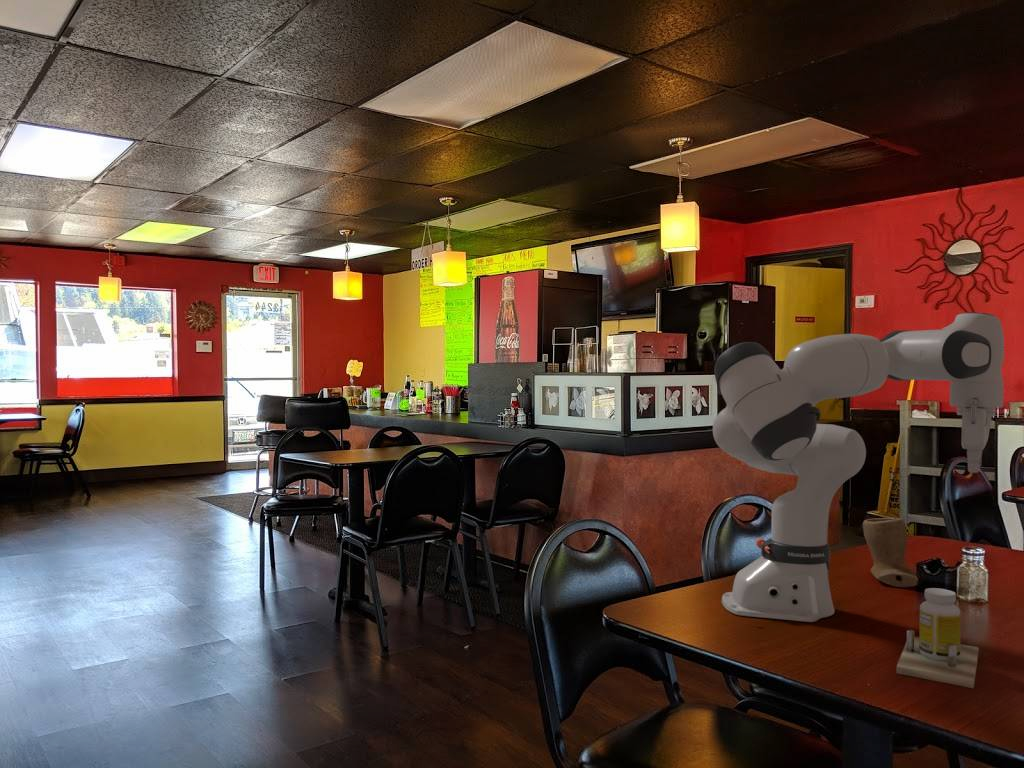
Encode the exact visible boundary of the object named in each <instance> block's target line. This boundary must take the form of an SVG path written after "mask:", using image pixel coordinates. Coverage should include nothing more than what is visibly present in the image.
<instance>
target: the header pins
mask: <svg viewBox="0 0 1024 768" xmlns="http://www.w3.org/2000/svg"><path fill="white" fill-rule="evenodd" d="M914 636H915V631H914V630H912V629H907V630H906V642H907V644H906V643H905V644H906V651H907V652H914ZM956 656H957V645H955V644H948V666H949V667H956Z"/></svg>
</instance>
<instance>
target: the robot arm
mask: <svg viewBox="0 0 1024 768" xmlns="http://www.w3.org/2000/svg"><path fill="white" fill-rule="evenodd" d="M1004 339H1005V338H1004V333H1003V327H1002V323H1001V319H1000V318H998V317H997V316H995V315H993V314H991V313H990V314H989V313H986V312H977V311H976V312H974V311H971V312H962V313H958V314H957V315H956V316H955V318H954V321H953V322H952V323H950V324H949V325H947V326H945V327H942V328H941V329H926V330H925V329H923V330H904V329H903V330H901V329H898V330H894V331H891V332H889V333H888V334H886V335H885V336H884V337H882V338H880V339H879V338H878V337H875V336H872V335H868V334H867V335H866V334H860V333H841V334H839V333H838V334H833V335H825V336H819V337H816V338H814V339H813V338H812V339H810V340H806V341H804V342H801V343H799V344H797V345H795V346H794V347H792V348H791V349H790V350H789V351H788V353H787V354H786V357H785V360H784V363H783V368H780V367H779V365H778V364H776V362H775V361H774V359H773V355H772V354H771V353H770V352H769V350H767V349H766V348H765V347H764V346H763V345H762V344H760V343H759V342H756V341H745V342H740V343H737V344H734V345H732V346H731V347H729V348H727V349H726V350H725V351H723V352H722V353H721V354H720V355H719V356H718V357H717V360H716V362H715V364H714V367H713V368H714V369H713V371H714V379H715V382H716V386H717V394H718V395H721V396H722V398H723V400H724V402H725V404H726V406H725V408H723V409H722V410H721V411H719V413H718V414H717V415H716V417H715V419H714V421H713V424H712V436H713V439H714V441H715V443H716V445H717V447H719V449H720V450H722V451H723V452H725V453H726V454H727V455H728V456H730V457H733V458H734V459H737V460H738V461H741V462H744V463H745V464H746V465H747V466H749V467H751V468H755V469H757V470H761V471H764V472H767V473H770V474H771V473H773V474H783V475H791V476H797V484H796V486H795V488H794V489H793V490H792V489H791V490H789V491H787V492H785V493H783V494H781V495H779V496H778V497H777V498H776V499H775V500H774V501H773V503H772V506H771V533H770V534H771V535H770V538H768V539H767V540H765V539H764V538H762V537H758V538H757V539H756V540H755V546H757V548H758V549H760V552H761V556H760V557H758V558H757V559H755V560H753V562H751V563H750V564H748V565H747V566H745V567H743V568H742V569H740V570H739V571H737V573H736V574H735V577H734V580H733V585H732V591H729V592H724V593H723V594H722V597H721V604H722V606H723V608H725V609H726V610H727V611H729V612H730V613H732V614H734V615H737V616H743V617H753V618H754V617H755V618H766V619H775V620H787V621H794V622H806V623H807V622H808V623H813V622H817V621H819V620H820V619H822V618H827V617H830V616H832V615H834V613H836V612H835V611H836V610H835V607H834V604H833V600H832V595H831V589H830V581H829V572H828V571H829V570H830V563H831V551H830V550H831V549H830V543H829V542H828V529H829V517H830V515H829V514H830V510H831V509H830V508H831V505H832V504H831V503H832V501H833V499H834V497H835V495H836V493H837V492H838V490H840V487H841V486H842V485H843V484H844V483H845V482H847V481H848V480H849V479H850V478H852V477H854V476H855V475H857V474H858V473H859V472H860V470H861V469H862V468H863V466H864V464H865V461H866V457H867V449H866V445H865V442H864V439H863V437H862V436H861V435H860V433H859V432H858V431H856V430H855V429H852V428H848V427H845V426H842V425H841V426H840V425H838V424H833V423H831V424H829V423H818V421H819V420H820V419H821V409H820V408H819V407H817V406H816V407H815V405H816V404H818V403H819V402H822V401H824V400H829V399H842V398H852V397H859V396H862V395H865V394H868V393H871V392H873V391H876V390H878V389H880V388H881V387H882V386H883V385H884V384H885V382H886V380H887V378H888V379H890V380H892V381H896V382H900V381H901V382H903V381H949V406H950V407H955V408H956V410H957V411H956V415H957V416H962V417H961V447H962V449H964V450H966V457H967V471H968V472H969V473H977V474H978V473H979V472H980V468H981V467H982V459H983V458H982V456H983V450H984V449H985V447H986V445H987V443H988V440H989V436H990V435H989V434H990V430H991V423H992V417H996V416H995V415H996V408H1003V407H1004V379H1003V375H1002V367H1003V364H1004V361H1005V341H1004Z"/></svg>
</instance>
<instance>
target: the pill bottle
mask: <svg viewBox="0 0 1024 768" xmlns="http://www.w3.org/2000/svg"><path fill="white" fill-rule="evenodd" d="M924 599H925V601H923V602H922V603H920V605H919V633H918V634H919V636H918V637H919V650H920V653H921V654H922V655H923V656H925V657H928V658H930V659H934V660H939V661H948V644H955V645H957V656H956V660H958V659H959V658H960V644H961V619H962V618H961V616H962V615H961V610H960V608H959V607H958V606H957V605H956V604H955V603H956V601H957V593H956V592H955V591H952V590H949V589H946V588H939V587H937V588H936V587H929V588H925V590H924Z"/></svg>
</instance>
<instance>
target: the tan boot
mask: <svg viewBox="0 0 1024 768" xmlns="http://www.w3.org/2000/svg"><path fill="white" fill-rule="evenodd" d="M862 528H863V535H864V536H863V537H864V538H865V541H866V544H867V546H868V549H869V551H870V554H871V557H872V560H873V566H871V568H870V572H871V574H872V575H873V576H874V577H875V578H876V579H877V580H878V581H879V582H882V583H884V584H887V585H889V586H891V587H892V586H893V587H896V588H909V587H911V588H912V587H915V586H916V585H917V581H918V578H917V576H916V573H917V572H916V571H915V570H914V569H913V568H911V567H907V565H906V551H907V545H908V535H907V534H908V533H907V526H906V522H905V521H904V519H903V518H900V517H899V518H898V517H881V518H878V517H877V518H868V519H865V520H863V522H862ZM917 586H918V585H917ZM917 586H916V587H917Z"/></svg>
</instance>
